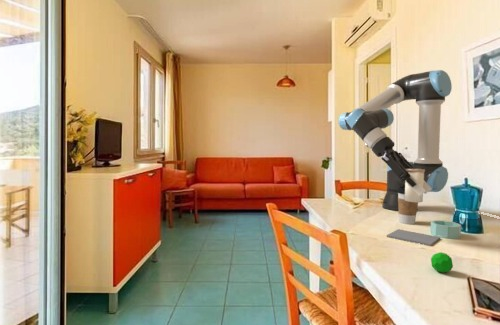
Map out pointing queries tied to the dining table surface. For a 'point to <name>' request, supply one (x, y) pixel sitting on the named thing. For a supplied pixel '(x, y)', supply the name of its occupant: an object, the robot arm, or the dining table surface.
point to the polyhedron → (441, 262)
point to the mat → (414, 237)
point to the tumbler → (409, 192)
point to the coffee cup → (406, 208)
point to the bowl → (445, 229)
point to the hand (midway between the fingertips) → (425, 192)
